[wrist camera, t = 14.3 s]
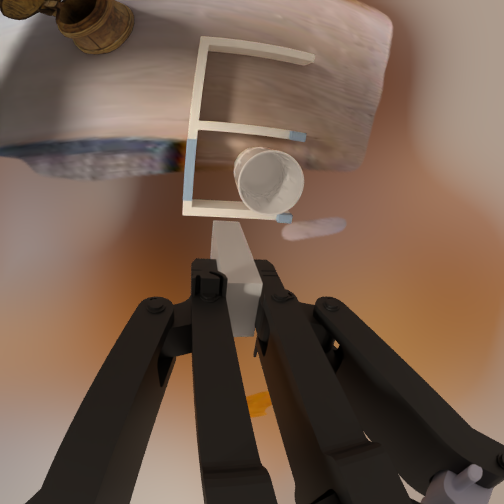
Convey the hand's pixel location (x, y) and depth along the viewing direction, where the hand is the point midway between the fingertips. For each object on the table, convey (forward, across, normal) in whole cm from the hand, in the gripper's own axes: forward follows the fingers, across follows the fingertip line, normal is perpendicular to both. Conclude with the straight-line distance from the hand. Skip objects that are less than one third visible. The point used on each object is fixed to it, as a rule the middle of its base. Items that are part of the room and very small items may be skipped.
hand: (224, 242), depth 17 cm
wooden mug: (+27, -20, +22) cm, 40 cm away
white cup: (+27, +7, 0) cm, 28 cm away
